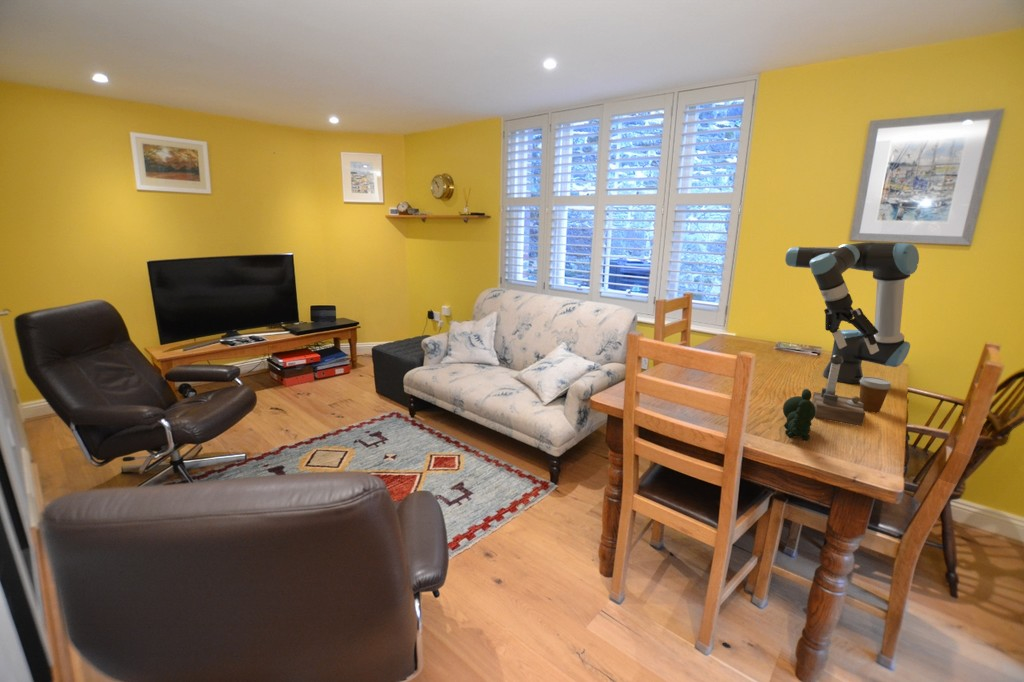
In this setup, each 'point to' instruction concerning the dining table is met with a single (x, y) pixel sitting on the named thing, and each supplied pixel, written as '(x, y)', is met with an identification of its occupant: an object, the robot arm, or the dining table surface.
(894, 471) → the dining table surface
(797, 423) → the toy figurine
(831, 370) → the lever
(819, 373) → the dining table surface
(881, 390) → the disposable coffee cup
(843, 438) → the dining table surface
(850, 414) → the base
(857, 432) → the dining table surface
